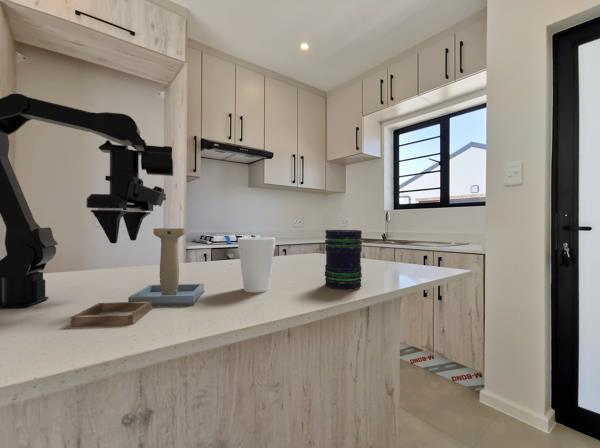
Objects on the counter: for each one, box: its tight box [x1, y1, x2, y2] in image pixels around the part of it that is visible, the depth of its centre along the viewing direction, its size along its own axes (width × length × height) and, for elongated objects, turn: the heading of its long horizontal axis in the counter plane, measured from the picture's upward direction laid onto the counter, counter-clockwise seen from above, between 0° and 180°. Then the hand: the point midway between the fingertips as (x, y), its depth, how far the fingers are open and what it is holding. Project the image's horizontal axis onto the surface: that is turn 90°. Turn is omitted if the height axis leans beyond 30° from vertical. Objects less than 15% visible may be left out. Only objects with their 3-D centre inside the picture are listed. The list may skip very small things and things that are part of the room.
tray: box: [127, 283, 205, 307], centre depth 67 cm, size 13×12×2 cm
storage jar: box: [324, 229, 363, 291], centre depth 81 cm, size 10×10×15 cm
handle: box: [152, 227, 186, 295], centre depth 67 cm, size 5×6×15 cm
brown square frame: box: [70, 301, 153, 327], centre depth 54 cm, size 10×9×2 cm
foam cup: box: [237, 236, 276, 293], centre depth 76 cm, size 10×9×13 cm
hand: (124, 241), depth 69 cm, fingers open, 9 cm apart
